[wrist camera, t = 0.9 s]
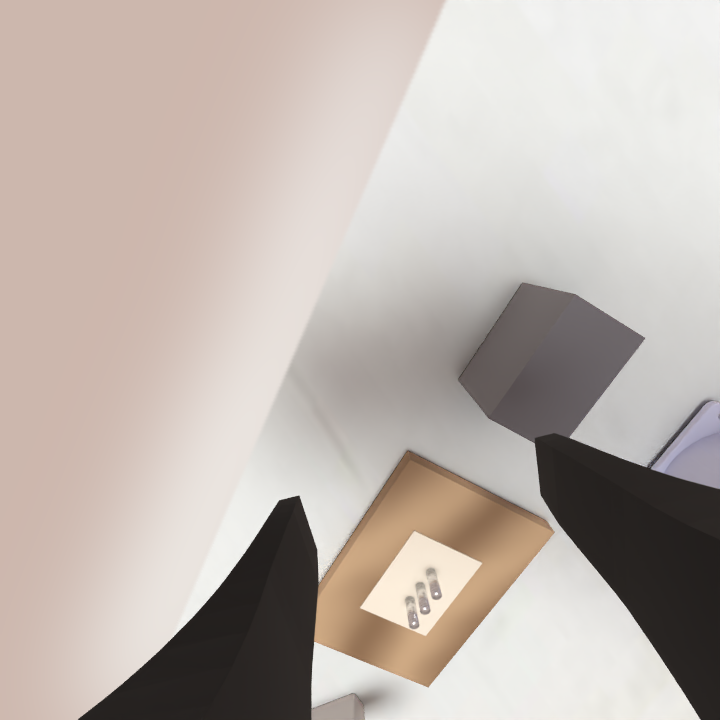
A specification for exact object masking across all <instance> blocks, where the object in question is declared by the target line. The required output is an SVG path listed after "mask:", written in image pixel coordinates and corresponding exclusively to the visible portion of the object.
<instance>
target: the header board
mask: <svg viewBox="0 0 720 720" xmlns="http://www.w3.org/2000/svg"><path fill="white" fill-rule="evenodd" d="M553 534H554V531H553V529H552V528H551V527H550V525H549V524H548V522H547V521H545V520H543V519H541V518H540V517H538V516H536V515H534V514H532V513H530V512H528V511H526V510H524V509H522V508H520V507H518V506H516V505H514V504H512V503H510V502H508V501H506V500H504V499H502V498H500V497H498V496H496V495H494V494H492V493H490V492H488V491H486V490H484V489H482V488H480V487H478V486H476V485H474V484H472V483H470V482H468V481H466V480H465V479H463V478H461V477H459V476H457V475H455V474H453V473H451V472H449V471H447V470H445V469H443V468H441V467H439V466H437V465H435V464H433V463H431V462H429V461H427V460H425V459H423V458H421V457H419V456H417V455H415V454H413V453H411V452H409V451H407V452H406V454H405V455H404V457H403V458H402V460H401V461H400V463H399V464H398V466H397V467H396V469H395V470H394V472H393V473H392V475H391V476H390V478H389V479H388V481H387V482H386V484H385V485H384V487H383V488H382V490H381V492H380V493H379V495H378V496H377V498H376V499H375V501H374V502H373V504H372V505H371V507H370V508H369V510H368V511H367V513H366V514H365V516H364V517H363V519H362V520H361V522H360V523H359V525H358V526H357V528H356V529H355V531H354V532H353V534H352V536H351V537H350V539H349V540H348V542H347V543H346V545H345V546H344V548H343V549H342V551H341V552H340V554H339V555H338V557H337V558H336V560H335V561H334V563H333V564H332V566H331V567H330V569H329V570H328V572H327V573H326V575H325V576H324V578H323V580H322V581H321V583H320V584H319V586H318V599H317V612H316V624H315V637H314V642H317V643H319V644H322V645H324V646H327V647H329V648H332V649H334V650H337V651H339V652H342V653H344V654H347V655H349V656H352V657H354V658H357V659H359V660H361V661H364V662H366V663H369V664H371V665H374V666H376V667H379V668H381V669H384V670H386V671H389V672H391V673H394V674H396V675H399V676H401V677H404V678H406V679H409V680H411V681H414V682H416V683H419V684H421V685H424V686H426V687H429V686H430V685H431V683H432V682H433V681H434V680H435V678H436V677H437V676H438V675H439V674H440V672H441V671H442V670H443V669H444V667H445V666H446V665H447V664H448V662H449V661H450V660H451V659H452V658H453V656H454V655H455V654H456V653H457V651H458V650H459V649H460V648H461V647H462V645H463V644H464V643H465V642H466V640H467V639H468V638H469V637H470V635H471V634H472V633H473V632H474V631H475V629H476V628H477V627H478V626H479V624H480V623H481V622H482V621H483V620H484V618H485V617H486V616H487V615H488V613H489V612H490V611H491V610H492V609H493V607H494V606H495V605H496V604H497V602H498V601H499V600H500V599H501V597H502V596H503V595H504V594H505V593H506V591H507V590H508V589H509V588H510V586H511V585H512V584H513V583H514V582H515V580H516V579H517V578H518V577H519V575H520V574H521V573H522V572H523V570H524V569H525V568H526V567H527V566H528V564H529V563H530V562H531V561H532V559H533V558H534V557H535V556H536V555H537V553H538V552H539V551H540V550H541V548H542V547H543V546H544V545H545V543H546V542H547V541H548V540H549V539H550V537H551V536H552V535H553Z"/></svg>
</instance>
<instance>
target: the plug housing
mask: <svg viewBox="0 0 720 720" xmlns="http://www.w3.org/2000/svg"><path fill="white" fill-rule="evenodd" d="M644 339H645V338H644V337H643V336H641V335H639V334H638V333H636V332H635V331H633V330H631V329H630V328H628V327H627V326H625V325H624V324H622V323H620V322H619V321H617V320H616V319H614V318H612V317H611V316H609V315H608V314H606V313H604V312H603V311H601V310H600V309H598V308H596V307H595V306H593V305H592V304H590V303H588V302H587V301H585V300H584V299H582V298H580V297H579V296H577V295H576V294H571V293H567V292H562V291H558V290H553V289H549V288H544V287H540V286H535V285H531V284H526V283H522V284H521V286H520V287H519V289H518V290H517V292H516V293H515V295H514V296H513V298H512V299H511V301H510V302H509V304H508V305H507V307H506V308H505V310H504V311H503V313H502V314H501V316H500V317H499V319H498V320H497V322H496V324H495V325H494V327H493V328H492V330H491V331H490V333H489V334H488V336H487V337H486V339H485V340H484V342H483V343H482V345H481V346H480V348H479V349H478V351H477V352H476V354H475V355H474V357H473V358H472V360H471V361H470V363H469V364H468V366H467V367H466V369H465V370H464V372H463V373H462V375H461V376H460V378H459V379H458V380H459V382H460V383H461V384H462V385H463V387H464V388H465V389H466V390H467V392H468V393H469V394H470V395H471V397H472V398H473V399H474V400H475V402H476V403H477V404H478V405H479V407H480V408H481V409H482V410H483V412H484V413H485V414H486V415H487V417H488V418H489V419H491V420H493V421H495V422H497V423H498V424H500V425H502V426H504V427H506V428H508V429H510V430H511V431H513V432H515V433H517V434H519V435H521V436H522V437H524V438H526V439H528V440H530V441H532V442H534V443H535V438H536V437H540V436H544V435H548V434H552V433H556V434H559V435H562V436H565V437H568V438H569V437H570V435H571V434H572V433H573V432H574V430H575V429H576V428H577V426H578V425H579V424H580V422H581V421H582V420H583V419H584V417H585V416H586V415H587V413H588V412H589V411H590V409H591V408H592V407H593V406H594V404H595V403H596V402H597V400H598V399H599V398H600V396H601V395H602V394H603V393H604V391H605V390H606V389H607V387H608V386H609V385H610V383H611V382H612V381H613V380H614V378H615V377H616V376H617V374H618V373H619V372H620V370H621V369H622V368H623V367H624V365H625V364H626V363H627V361H628V360H629V359H630V358H631V356H632V355H633V354H634V352H635V351H636V350H637V348H638V347H639V346H640V345H641V343H642V342H643V341H644Z"/></svg>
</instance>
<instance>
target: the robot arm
mask: <svg viewBox="0 0 720 720" xmlns="http://www.w3.org/2000/svg"><path fill="white" fill-rule="evenodd" d="M719 414H720V403H719V402H716V401H710V402H708V403H706V404H705V405H704V406H703V407H702V408H701V410H700V411H699V412H698V413H697V414H696V416H695V417H694V418H693V419H692V420H691V421H690V423H689V424H688V425H687V426H686V427H685V429H684V430H683V431H682V432H681V433H680V434H679V436H678V437H677V438H676V439H675V440H674V442H673V443H672V444H671V445H670V446H669V447H668V449H667V450H666V451H665V452H664V453H663V454H662V456H661V457H660V458H659V459H658V460H657V462H656V463H655V464H654V465H653V466H652V467H651V469H649V468H646V467H643V466H640V465H638V464H635V463H632V462H629V461H627V460H624V459H621V458H618V457H616V456H613V455H611V454H608V453H606V452H603V451H600V450H598V449H595V448H593V447H590V446H588V445H585V444H583V443H580V442H578V441H575V440H573V439H570V438H568V437H565V436H562V435H559V434H556V433H552V434H548V435H544V436H540V437H536V438H535V447H536V456H537V465H538V474H539V483H540V492H541V496H542V498H543V499H544V501H545V503H546V504H547V506H548V508H549V509H550V511H551V512H552V514H553V515H554V517H555V519H556V520H557V522H558V523H559V525H560V526H561V527H562V528H563V530H564V531H565V532H566V534H567V535H568V536H569V537H570V538H571V540H572V541H573V542H574V543H575V545H576V546H577V547H578V548H579V549H580V551H581V552H582V553H583V554H584V556H585V557H586V558H587V559H588V560H589V562H590V563H591V564H592V565H593V566H594V568H595V569H596V570H597V571H598V572H599V574H600V575H601V576H602V577H603V578H604V580H605V581H606V582H607V583H608V585H609V586H610V587H611V588H612V589H613V591H614V592H615V593H616V594H617V596H618V597H619V598H620V600H621V601H622V602H623V604H624V605H625V606H626V607H627V609H628V610H629V612H630V613H631V614H632V616H633V617H634V619H635V620H636V622H637V623H638V625H639V626H640V628H641V629H642V631H643V632H644V633H645V635H646V636H647V638H648V639H649V641H650V642H651V644H652V645H653V647H654V648H655V650H656V651H657V653H658V654H659V656H660V657H661V659H662V660H663V662H664V663H665V665H666V666H667V668H668V669H669V671H670V672H671V674H672V675H673V677H674V679H675V680H676V682H677V683H678V685H679V686H680V688H681V689H682V691H683V692H684V694H685V695H686V697H687V699H688V700H689V702H690V703H691V705H692V707H693V708H694V710H695V711H696V713H697V715H698V716H699V718H700V719H701V720H720V415H719ZM718 415H719V416H718ZM318 584H319V583H318V557H317V548H316V545H315V542H314V539H313V536H312V533H311V530H310V527H309V524H308V521H307V518H306V515H305V512H304V509H303V506H302V503H301V499H300V496H295V497H291V498H287V499H283V500H279V502H278V503H277V505H276V506H275V508H274V509H273V511H272V512H271V514H270V515H269V517H268V519H267V520H266V522H265V523H264V525H263V526H262V528H261V530H260V531H259V533H258V534H257V536H256V537H255V539H254V540H253V542H252V543H251V545H250V546H249V548H248V549H247V551H246V552H245V554H244V555H243V556H242V558H241V559H240V560H239V562H238V563H237V564H236V566H235V567H234V568H233V570H232V571H231V572H230V574H229V575H228V577H227V578H226V579H225V580H224V582H223V583H222V584H221V585H220V587H219V588H218V589H217V590H216V592H215V593H214V594H213V595H212V596H211V597H210V599H209V600H208V601H207V602H206V603H205V604H204V605H203V607H202V608H201V609H200V610H199V611H198V612H197V613H196V614H195V616H194V617H193V618H192V619H191V620H190V621H189V622H188V623H187V624H186V625H185V626H184V627H183V628H182V629H181V630H180V631H179V632H178V633H177V634H176V635H175V636H174V637H173V638H172V639H171V640H170V641H169V642H168V643H167V644H166V645H165V646H164V647H163V648H162V649H161V650H160V651H159V652H158V653H157V654H156V655H154V656H153V657H152V658H151V659H150V660H149V661H148V662H147V663H146V664H145V665H144V666H142V667H141V668H140V669H139V670H138V671H137V672H136V673H134V674H133V675H132V676H131V677H130V678H129V679H128V680H126V681H125V682H124V683H123V684H122V685H121V686H119V687H118V688H117V689H116V690H114V691H113V692H112V693H111V694H110V695H108V696H107V697H106V698H105V699H104V700H102V701H101V702H100V703H98V704H97V705H96V706H95V707H93V708H92V709H91V710H89V711H88V712H87V713H86V714H84V715H83V716H82V717H80V718H79V719H78V720H312V717H311V681H312V661H313V649H314V637H315V624H316V612H317V599H318Z"/></svg>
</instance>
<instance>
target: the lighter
mask: <svg viewBox="0 0 720 720" xmlns="http://www.w3.org/2000/svg"><path fill="white" fill-rule="evenodd" d="M311 717H312V720H365V717H364V706H363V704H362V703H361V701H360V700H359V699H358V697H357V696H356V694H350V695H347V696H345V697H342V698H339V699H337V700H334V701H332V702H329V703H326V704H324V705H321V706H319V707H316V708H314V709H311Z"/></svg>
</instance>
